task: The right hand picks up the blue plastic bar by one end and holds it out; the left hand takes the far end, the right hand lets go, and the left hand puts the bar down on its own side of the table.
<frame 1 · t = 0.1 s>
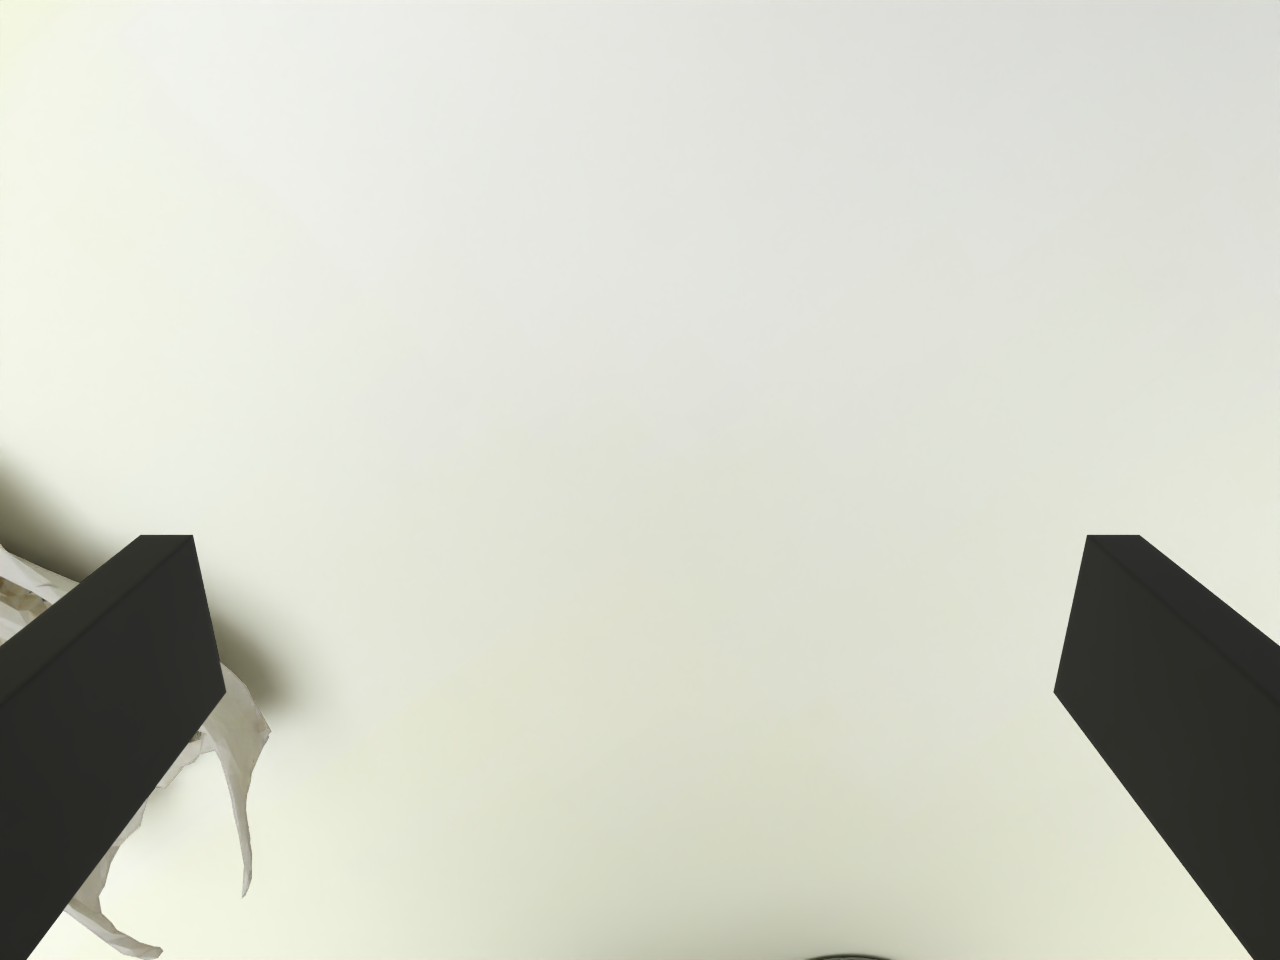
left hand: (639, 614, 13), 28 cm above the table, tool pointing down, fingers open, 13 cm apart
anatomical model: (107, 653, 46), on the table
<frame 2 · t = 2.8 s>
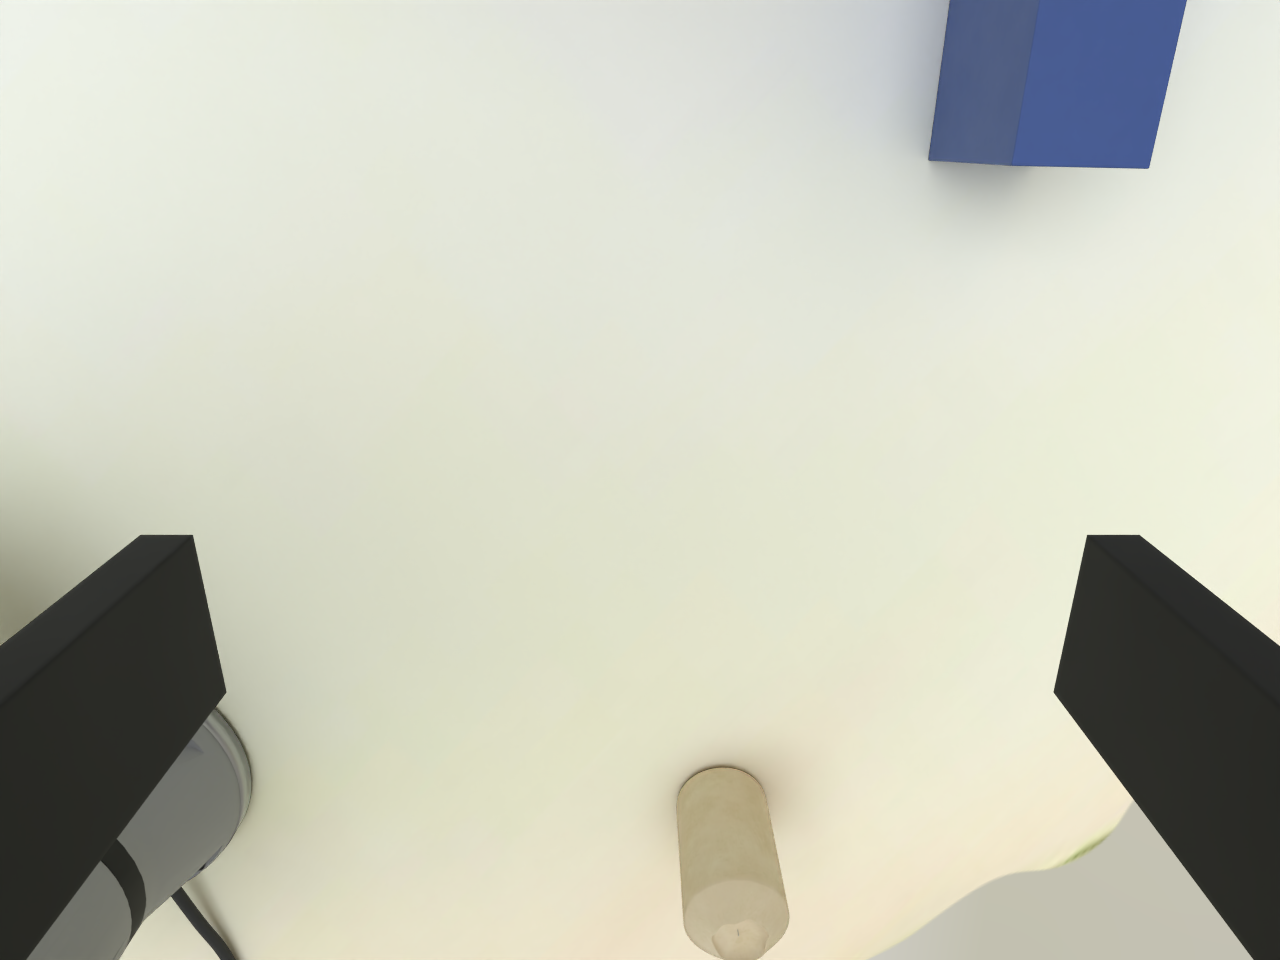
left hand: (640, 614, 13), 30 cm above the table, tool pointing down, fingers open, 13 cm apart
candle: (720, 799, 53), on the table
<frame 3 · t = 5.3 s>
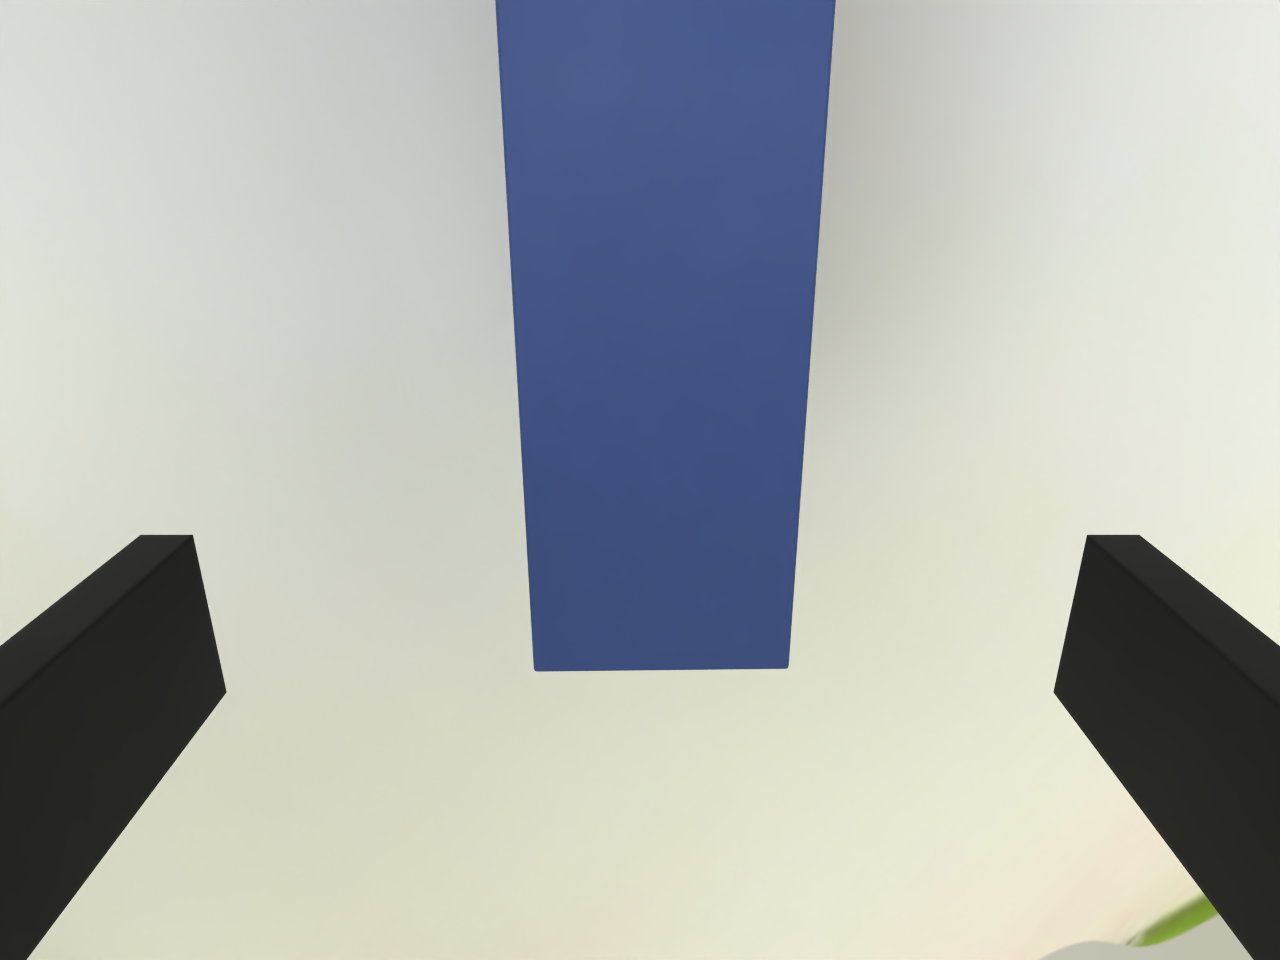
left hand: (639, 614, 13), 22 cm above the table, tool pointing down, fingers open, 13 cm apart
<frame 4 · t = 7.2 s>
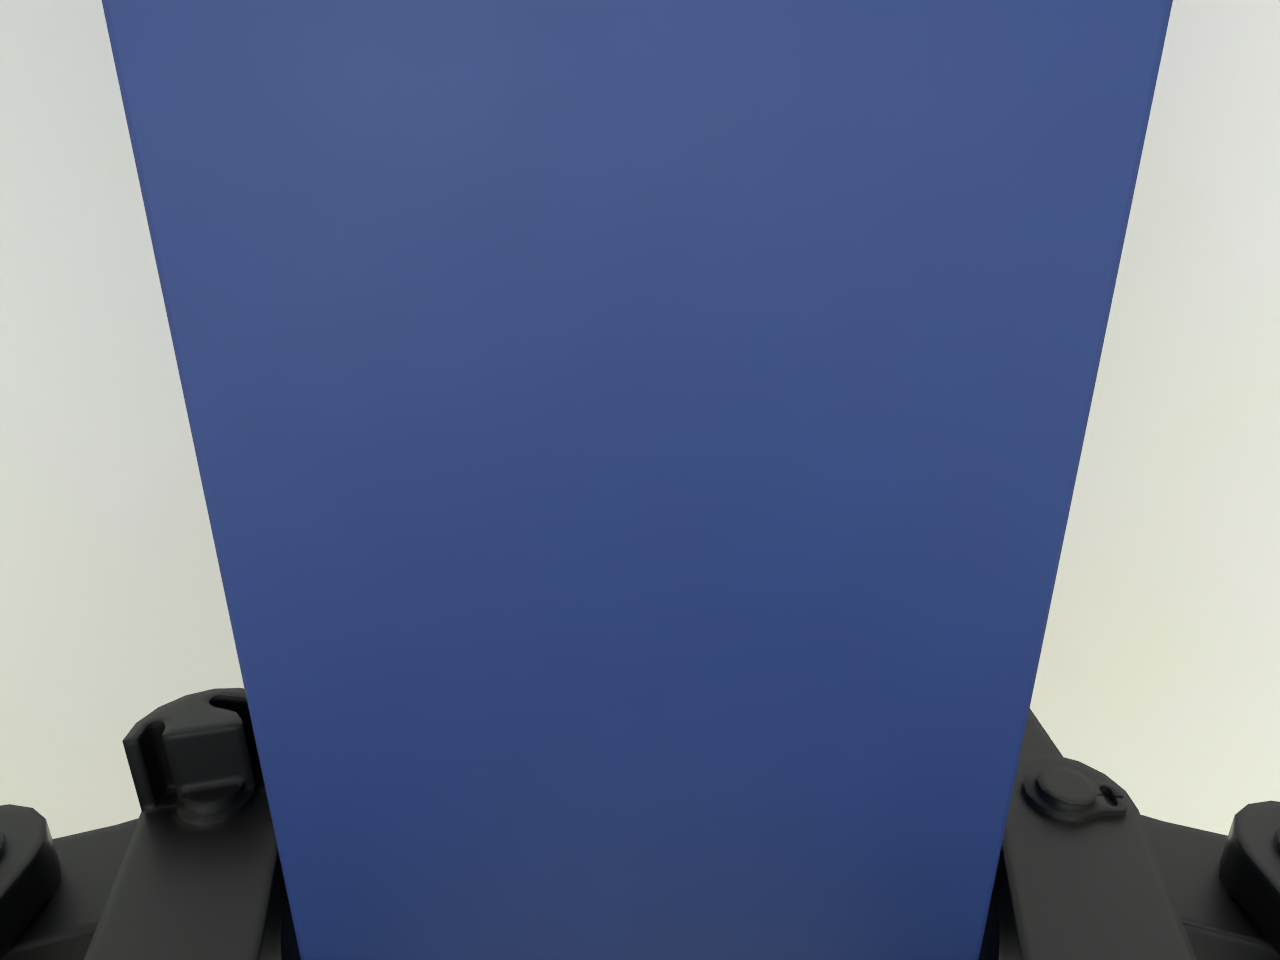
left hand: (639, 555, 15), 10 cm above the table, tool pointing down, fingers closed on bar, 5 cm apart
when the right hand's fingers open (10 cm above the table, at t = 7.8 s): bar stays where it is, held by the left hand.
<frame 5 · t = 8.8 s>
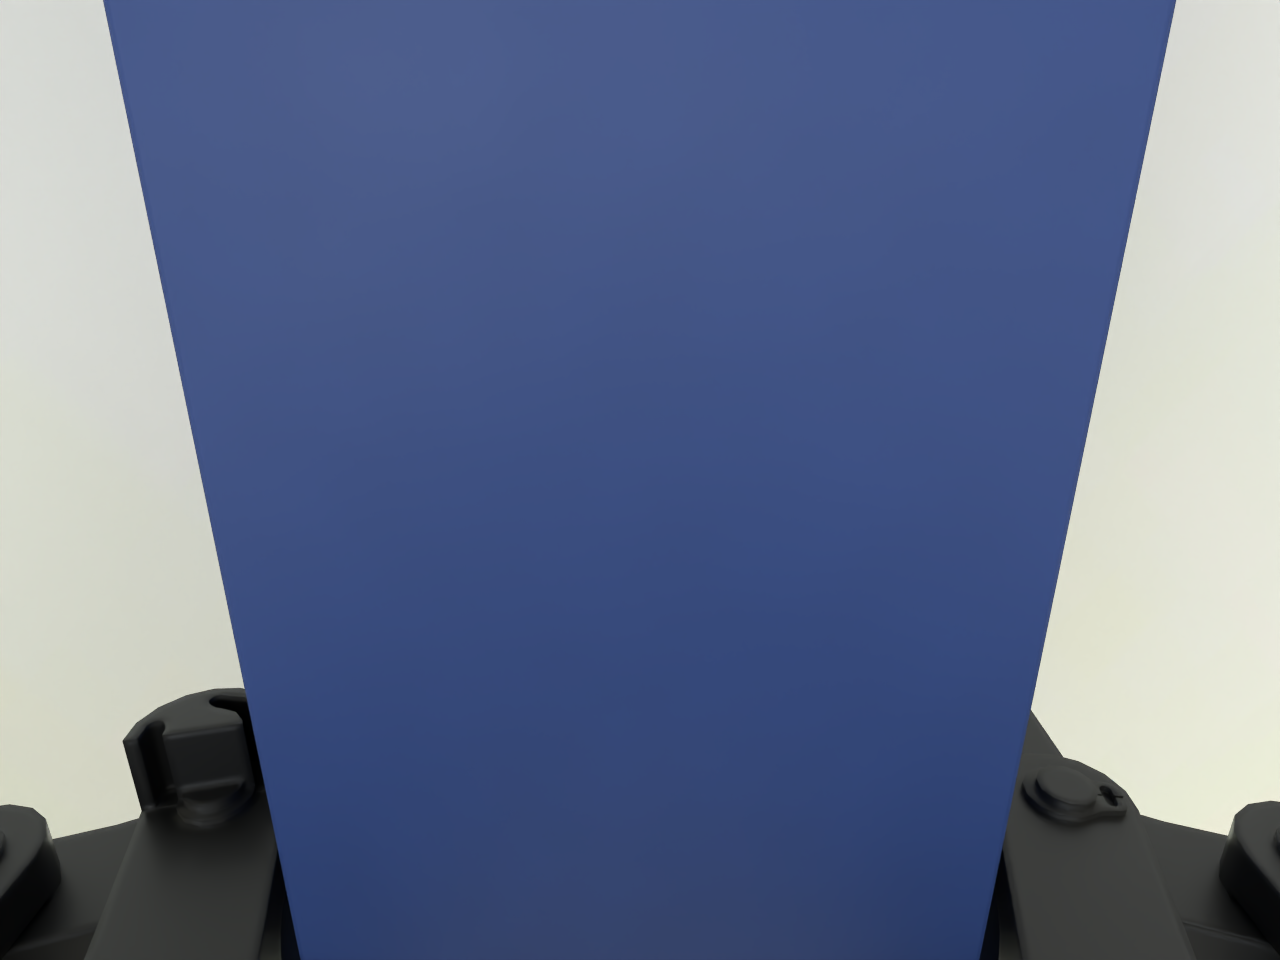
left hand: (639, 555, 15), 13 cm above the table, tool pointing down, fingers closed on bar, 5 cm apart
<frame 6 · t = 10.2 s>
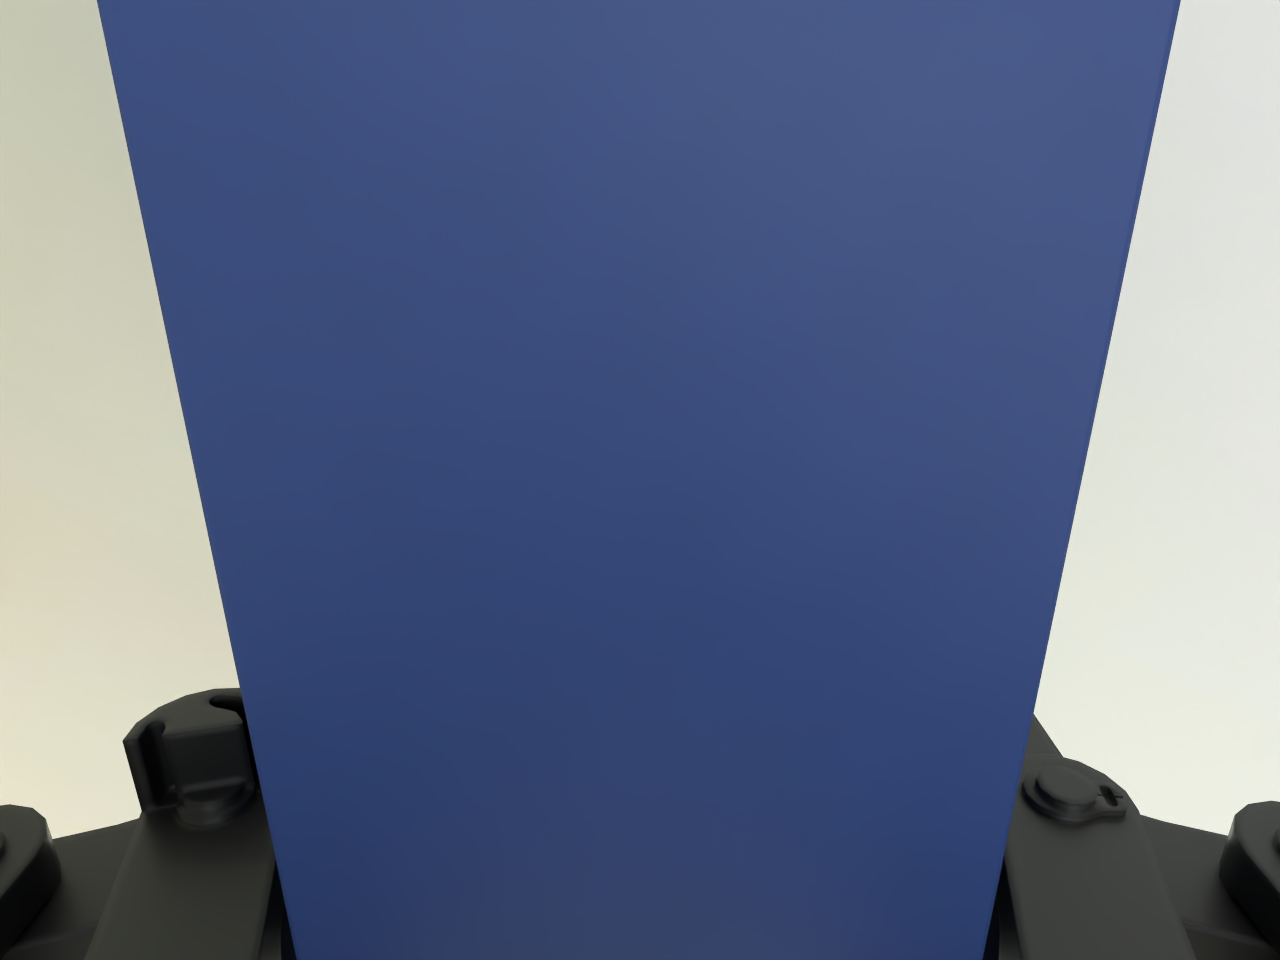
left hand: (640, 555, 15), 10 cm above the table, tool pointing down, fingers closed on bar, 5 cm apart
when the left hand's fingers open (2 cm above the table, at t = 11.4 s): bar drops 2 cm, on the table.
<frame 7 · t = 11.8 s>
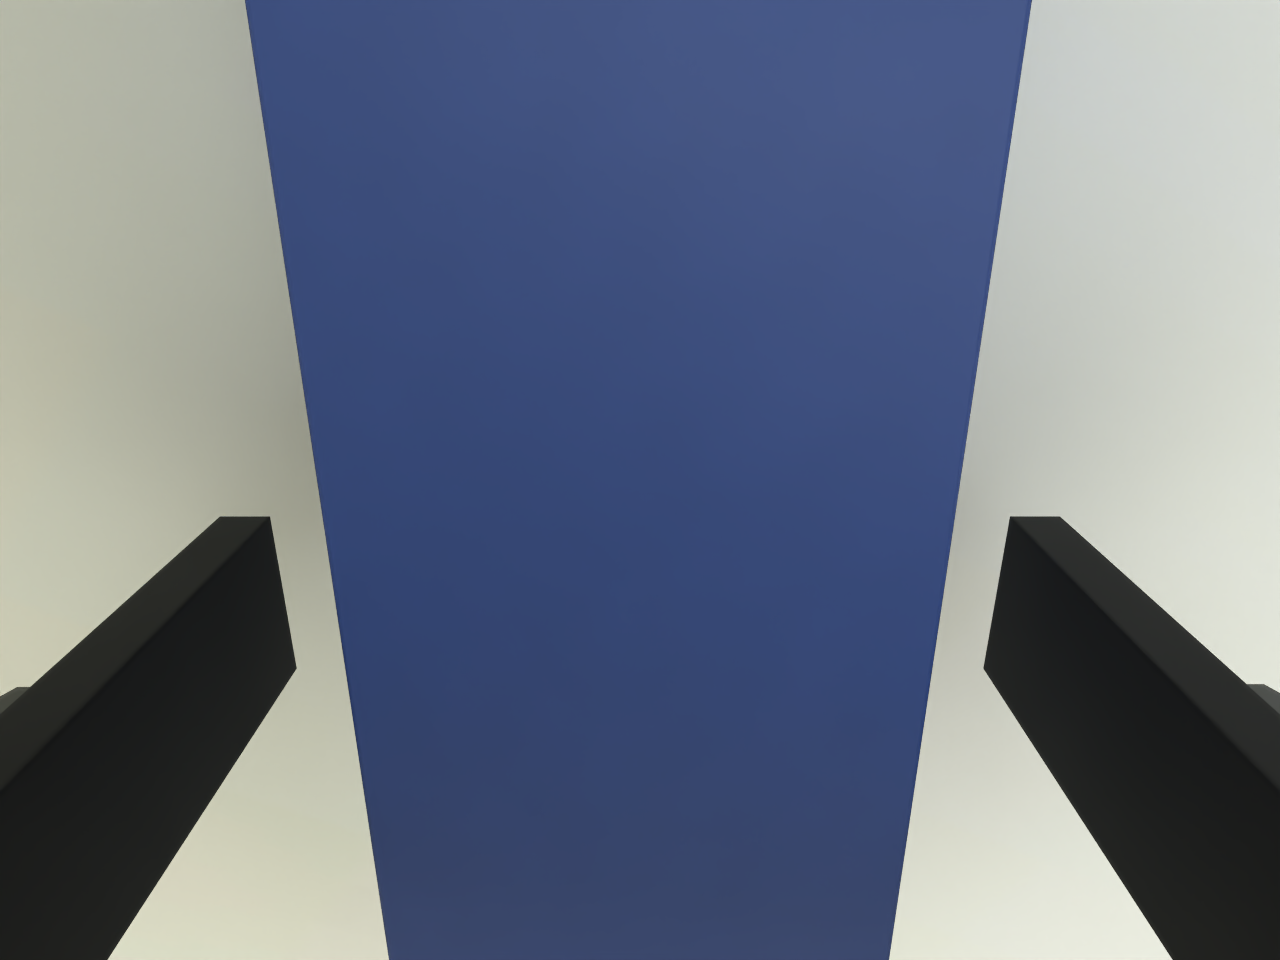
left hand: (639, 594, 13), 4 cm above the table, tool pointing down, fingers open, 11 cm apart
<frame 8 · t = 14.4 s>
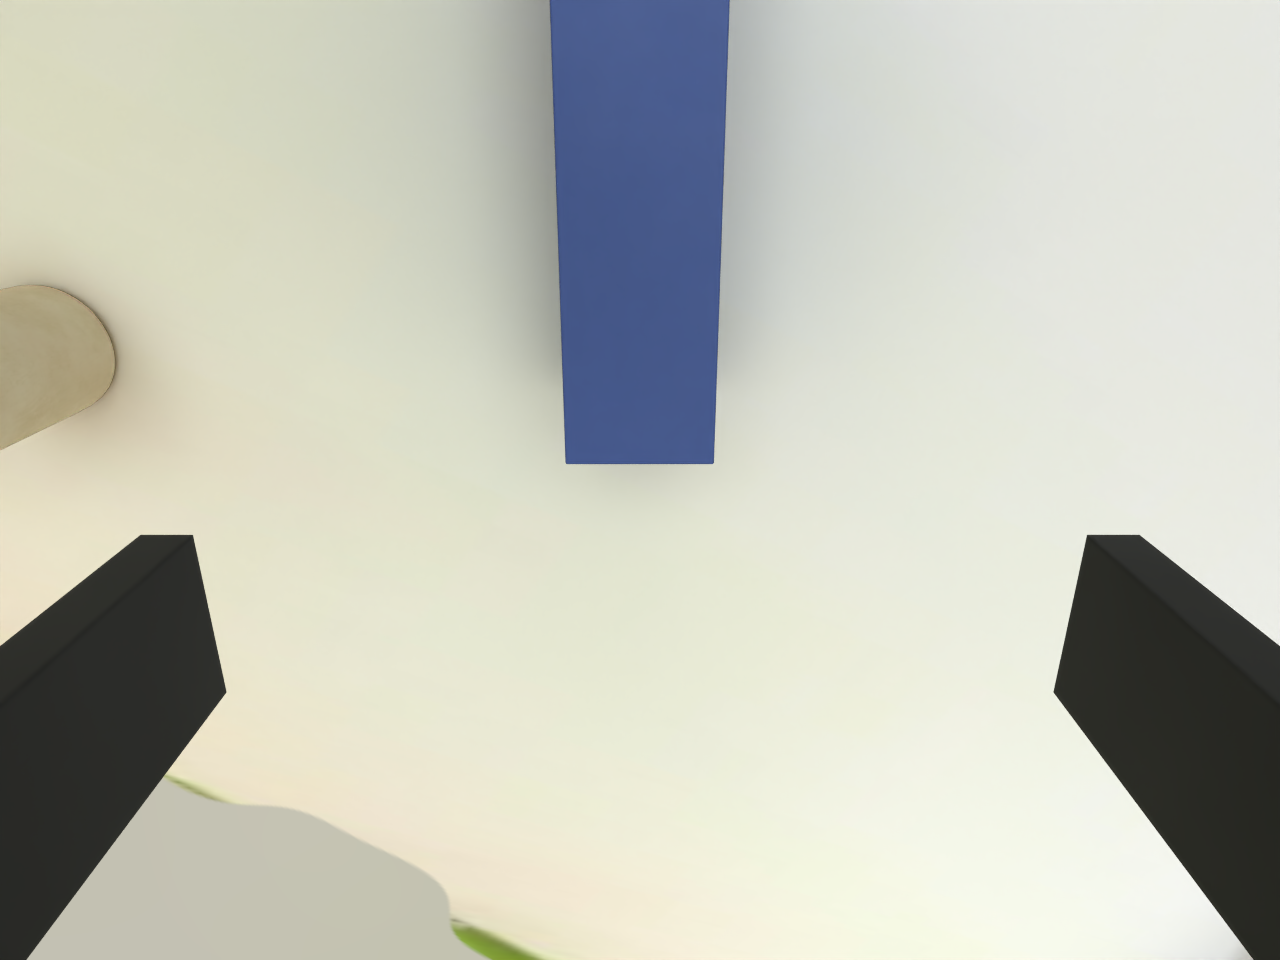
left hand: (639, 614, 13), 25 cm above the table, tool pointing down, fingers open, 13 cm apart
bar: (639, 7, 32), on the table
candle: (54, 347, 36), on the table
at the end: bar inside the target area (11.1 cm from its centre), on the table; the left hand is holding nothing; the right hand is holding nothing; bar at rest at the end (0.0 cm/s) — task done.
